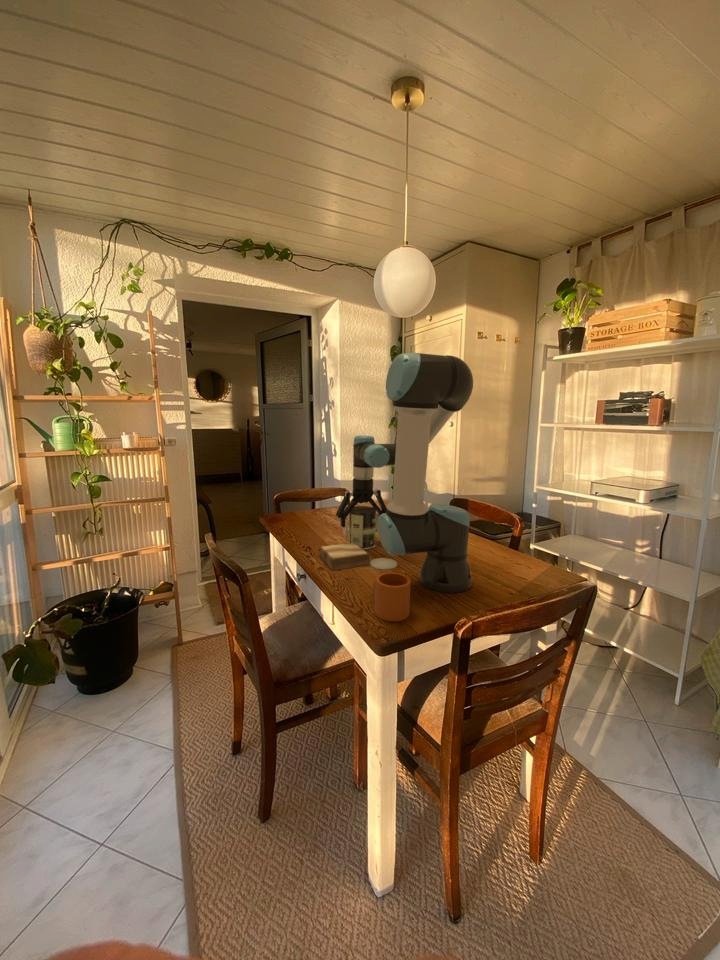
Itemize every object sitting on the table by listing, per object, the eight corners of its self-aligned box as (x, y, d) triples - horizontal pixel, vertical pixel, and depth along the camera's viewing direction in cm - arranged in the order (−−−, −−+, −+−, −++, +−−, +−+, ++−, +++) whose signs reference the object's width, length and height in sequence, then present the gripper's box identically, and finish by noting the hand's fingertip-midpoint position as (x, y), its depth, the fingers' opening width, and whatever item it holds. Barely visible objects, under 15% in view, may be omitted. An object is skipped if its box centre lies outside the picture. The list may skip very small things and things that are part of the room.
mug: (394, 596, 109) (396, 565, 108) (415, 618, 98) (418, 584, 97) (364, 601, 106) (365, 569, 105) (382, 624, 95) (384, 589, 94)
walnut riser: (369, 564, 132) (369, 554, 131) (332, 570, 126) (332, 559, 126) (354, 551, 143) (354, 541, 143) (319, 556, 138) (319, 546, 138)
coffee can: (375, 541, 156) (376, 506, 153) (375, 550, 145) (376, 512, 143) (348, 540, 156) (349, 505, 153) (347, 549, 146) (347, 512, 143)
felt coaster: (402, 567, 130) (402, 565, 130) (377, 571, 126) (377, 569, 126) (389, 557, 138) (389, 556, 138) (365, 561, 134) (365, 560, 134)
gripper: (388, 474, 154) (386, 527, 158) (327, 477, 144) (327, 533, 148) (397, 477, 148) (395, 532, 152) (334, 481, 138) (334, 540, 142)
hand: (361, 533), depth 150 cm, fingers open, 13 cm apart
